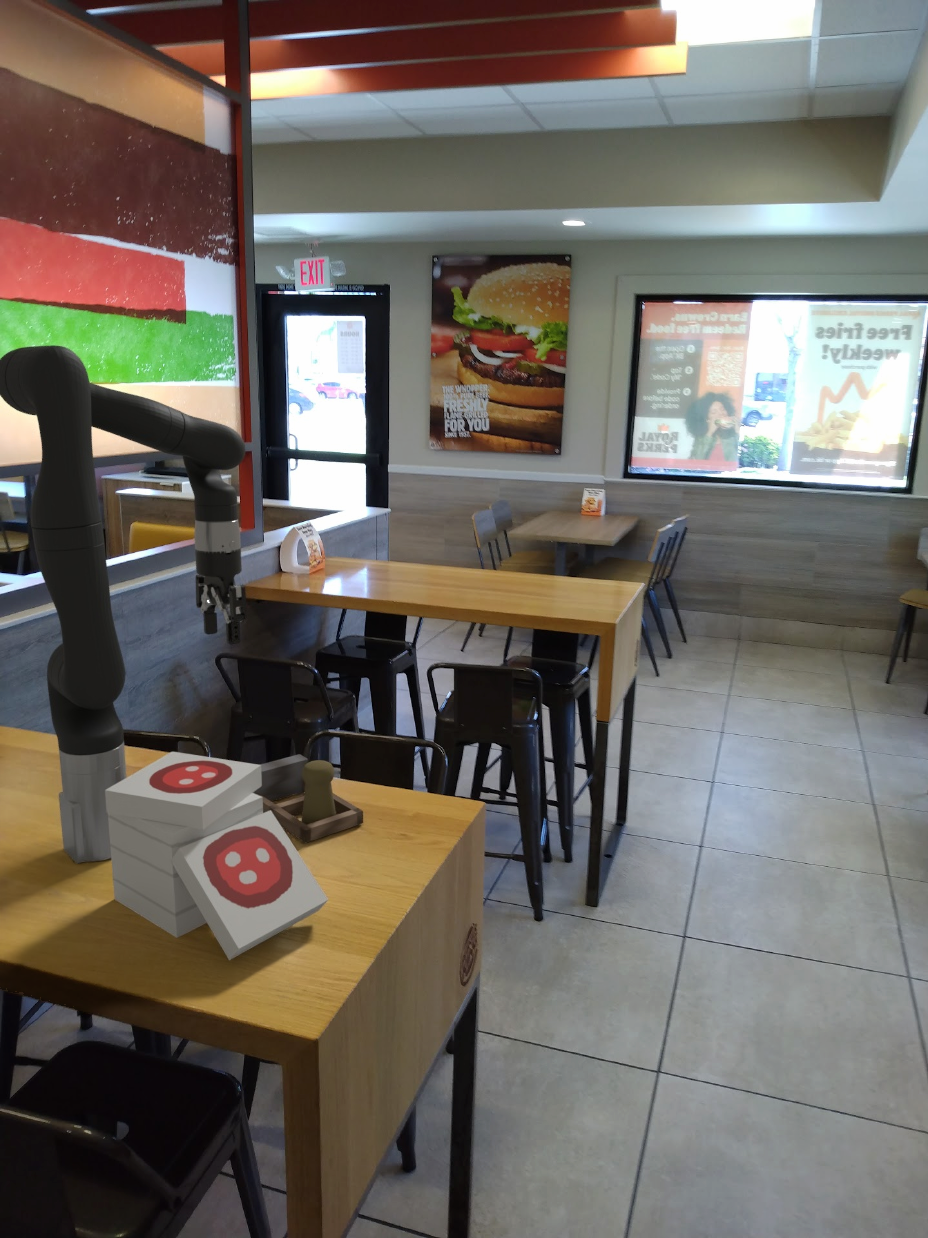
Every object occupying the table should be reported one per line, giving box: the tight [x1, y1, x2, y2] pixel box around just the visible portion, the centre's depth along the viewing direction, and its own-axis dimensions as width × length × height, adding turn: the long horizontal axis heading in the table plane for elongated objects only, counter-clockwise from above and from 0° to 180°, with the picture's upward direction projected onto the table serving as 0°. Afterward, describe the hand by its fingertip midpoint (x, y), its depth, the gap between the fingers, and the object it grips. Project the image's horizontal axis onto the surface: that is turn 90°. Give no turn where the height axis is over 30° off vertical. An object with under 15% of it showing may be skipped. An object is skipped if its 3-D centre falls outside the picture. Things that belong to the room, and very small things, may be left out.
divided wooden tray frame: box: [253, 753, 364, 844], centre depth 157 cm, size 11×20×6 cm, turn 41°
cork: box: [300, 759, 337, 825], centre depth 152 cm, size 6×6×11 cm
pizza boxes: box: [105, 751, 329, 961], centre depth 126 cm, size 19×30×18 cm, turn 51°
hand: (222, 638), depth 160 cm, fingers open, 8 cm apart
